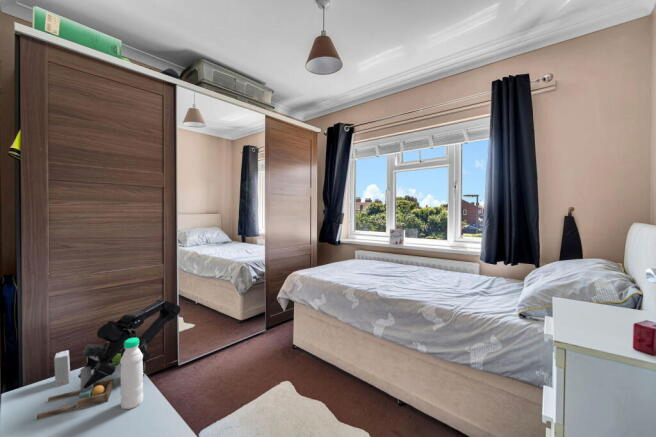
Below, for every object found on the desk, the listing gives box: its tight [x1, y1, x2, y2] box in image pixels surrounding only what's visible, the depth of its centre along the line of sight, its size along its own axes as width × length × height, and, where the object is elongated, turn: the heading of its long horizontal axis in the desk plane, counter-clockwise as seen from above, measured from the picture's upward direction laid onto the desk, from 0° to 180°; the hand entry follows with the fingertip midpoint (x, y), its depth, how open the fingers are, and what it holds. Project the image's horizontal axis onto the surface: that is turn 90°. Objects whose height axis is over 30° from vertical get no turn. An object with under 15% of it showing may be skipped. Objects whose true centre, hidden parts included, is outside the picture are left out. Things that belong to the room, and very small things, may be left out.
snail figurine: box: [111, 348, 123, 366], centre depth 131 cm, size 5×6×12 cm
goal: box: [35, 378, 115, 420], centre depth 107 cm, size 20×11×3 cm, turn 118°
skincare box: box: [53, 349, 71, 387], centre depth 118 cm, size 6×4×12 cm
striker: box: [78, 367, 93, 400], centre depth 108 cm, size 3×6×12 cm, turn 29°
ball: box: [91, 385, 105, 396], centre depth 110 cm, size 4×4×4 cm
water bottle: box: [119, 337, 144, 410], centre depth 106 cm, size 7×7×25 cm
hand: (81, 382), depth 107 cm, fingers open, 9 cm apart
